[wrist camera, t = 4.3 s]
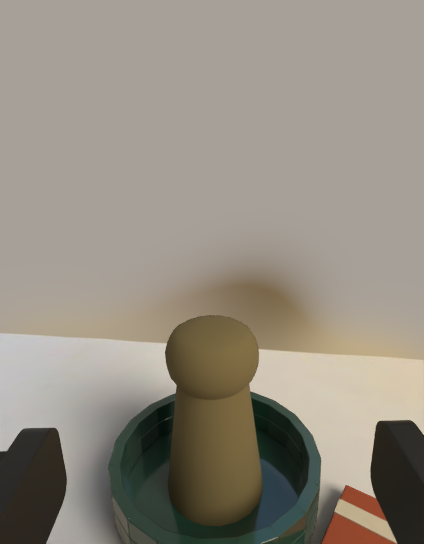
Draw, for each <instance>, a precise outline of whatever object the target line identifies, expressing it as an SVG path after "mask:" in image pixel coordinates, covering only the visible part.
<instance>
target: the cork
mask: <svg viewBox="0 0 424 544" xmlns="http://www.w3.org/2000/svg"><path fill="white" fill-rule="evenodd" d="M165 356H166V364H167V368H168V371H169V374H170V377H171V379H172V380H173V381H174V382H175V383H176V385H177V388H176V399H175V410H174V421H173V433H172V444H171V455H170V466H169V477H168V491H169V497H170V500H171V501H172V503H173V505H174V507H175V508H176V510H177V511H178V512H179V513H181V514H182V515H183V516H184V517H186V518H187V519H188V520H190V521H193V522H196V523H198V524H201V525H205V526H224V525H228V524H232V523H236V522H238V521H239V520H241V519H243V518H244V517H246V516H247V515H249V514H250V513H251V512H252V511H253V509H254V508H255V507H256V506H257V505H258V503H259V501H260V498H261V495H262V492H263V482H262V472H261V465H260V458H259V451H258V444H257V437H256V430H255V423H254V415H253V408H252V401H251V394H250V387H249V383H250V382H251V381H252V379H253V377H254V375H255V373H256V370H257V367H258V361H259V351H258V344H257V340H256V338H255V336H254V335H253V333H252V332H251V331H250V329H249V327H248V326H247V325H245V324H243V323H242V322H240V321H238V320H235V319H233V318H230V317H224V316H212V315H209V316H201V317H197V318H193V319H190V320H188V321H186V322H184V323H182V324H180V325H179V326H177V327H176V328H175V329H174V330H173V332H172V334H171V335H170V337H169V340H168V342H167V346H166V351H165Z"/></svg>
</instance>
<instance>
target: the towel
mask: <svg viewBox="0 0 424 544" xmlns="http://www.w3.org/2000/svg"><path fill="white" fill-rule="evenodd" d="M321 544H397V542H396V539H395V537H394V535H393V533H392V531H391V529H390V527H389V525H388V522H387V520H386V518H385V516H384V514H383V512H382V510H381V507H380V505H379V503H378V501H377V499H376V498H374V497H371V496H369V495H367V494H365V493H363V492H361V491H358V490H356V489H354V488H352V487H350V486H348V485H346V486H345V488H344V491H343V493H342V495H341V498H340V499H339V501H338V503H337V505H336V508H335V510H334V514H333V517H332V519H331V521H330V524H329V526H328V528H327V531H326V533H325V535H324V538H323V540H322V542H321Z"/></svg>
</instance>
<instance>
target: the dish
mask: <svg viewBox="0 0 424 544" xmlns="http://www.w3.org/2000/svg"><path fill="white" fill-rule="evenodd" d="M250 394H251V401H252V408H253V415H254V423H255V430H256V437H257V444H258V451H259V458H260V465H261V472H262V482H263V492H262V495H261V498H260V501H259V503H258V505H257V506H256V507H255V508H254V509H253V511H252V512H251V513H250V514H249V515H247V516H246V517H244V518H243V519H241V520H239V521H238V522H236V523H232V524H228V525H224V526H205V525H201V524H198V523H196V522H193V521H190V520H188V519H187V518H186V517H184V516H183V515H182V514H181V513H179V512H178V511H177V510H176V508H175V507H174V505H173V503H172V501H171V500H170V497H169V491H168V477H169V466H170V455H171V444H172V433H173V421H174V410H175V399H176V394H173V395H170V396H168V397H166V398H164V399H162V400H159V401H157V402H155V403H153V404H151V405H149V406H148V407H147V408H146V409H144V410H143V411H142V412H141V413H139V414H138V415H137V416H135V417H134V418H133V419H132V420H131V421H130V422H129V423H128V425H127V426H126V427H125V429H124V430H123V431H122V433H121V434H120V436H119V437H118V438H117V440H116V442H115V445H114V449H113V452H112V455H111V459H110V462H109V467H108V469H109V478H110V487H111V495H112V502H113V509H114V517H115V524H116V528H117V530H118V533H119V536H120V538H121V541H122V543H123V544H308V543H309V541H310V539H311V536H312V533H313V530H314V528H315V523H316V521H317V515H318V503H319V492H320V475H321V457H320V454H319V452H318V449H317V446H316V444H315V441H314V438H313V436H312V434H311V433H310V432H309V430H308V429H307V428H306V427H305V426H304V424H303V423H302V422H301V421H300V420H299V418H298V417H297V416H296V415H295V414H294V413H292V412H291V411H289V410H288V409H286V408H285V407H283V406H282V405H280V404H279V403H277V402H276V401H274V400H272V399H269V398H267V397H264V396H261V395H259V394H256V393H253V392H250Z"/></svg>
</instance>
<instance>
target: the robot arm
mask: <svg viewBox="0 0 424 544" xmlns="http://www.w3.org/2000/svg"><path fill="white" fill-rule="evenodd" d="M371 482H372V487H373V491H374V494H375V496H376V499H377V501H378V503H379V505H380V507H381V510H382V512H383V514H384V516H385V518H386V520H387V522H388V525H389V527H390V529H391V531H392V533H393V535H394V537H395V539H396V542H397V544H424V435H423V434H422V432H421V431H420V430H419V428H418V427H417V426H416V424H415V423H414V422H413V421H411V420H398V421H379V422H378V423H377V425H376V431H375V438H374V446H373V454H372V462H371ZM66 484H67V477H66V470H65V465H64V460H63V454H62V449H61V443H60V438H59V433H58V431H57V429H56V428H26V429H23V430H22V431H21V432H20V433H19V434H18V436H17V437H16V439H15V440H14V442H13V443H12V445H11V446H10V448H9V449H8V451H4V452H0V544H46V542H47V540H48V537H49V535H50V533H51V530H52V528H53V525H54V523H55V521H56V518H57V516H58V513H59V511H60V508H61V506H62V503H63V500H64V497H65V492H66Z"/></svg>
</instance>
